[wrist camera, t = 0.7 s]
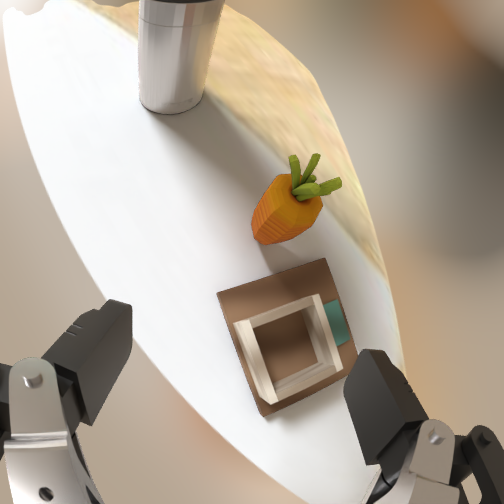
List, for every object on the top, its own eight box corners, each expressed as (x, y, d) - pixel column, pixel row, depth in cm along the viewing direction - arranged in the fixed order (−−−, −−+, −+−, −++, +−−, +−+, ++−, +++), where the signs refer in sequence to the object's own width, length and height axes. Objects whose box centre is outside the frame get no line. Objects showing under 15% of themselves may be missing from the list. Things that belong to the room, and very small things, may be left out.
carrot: (228, 230, 31) (273, 153, 17) (263, 210, 33) (323, 133, 19) (254, 267, 31) (320, 217, 17) (287, 245, 33) (365, 186, 19)
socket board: (216, 293, 29) (224, 287, 25) (320, 259, 33) (341, 249, 29) (260, 413, 27) (274, 426, 22) (355, 366, 31) (379, 369, 26)
